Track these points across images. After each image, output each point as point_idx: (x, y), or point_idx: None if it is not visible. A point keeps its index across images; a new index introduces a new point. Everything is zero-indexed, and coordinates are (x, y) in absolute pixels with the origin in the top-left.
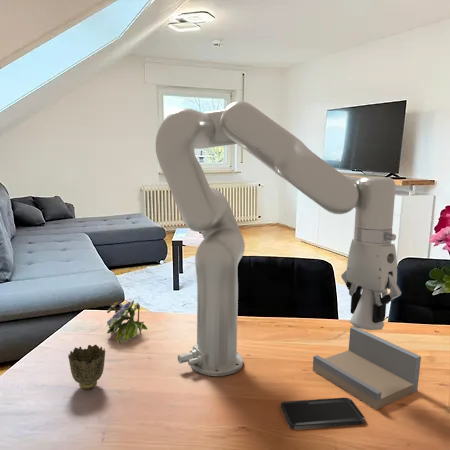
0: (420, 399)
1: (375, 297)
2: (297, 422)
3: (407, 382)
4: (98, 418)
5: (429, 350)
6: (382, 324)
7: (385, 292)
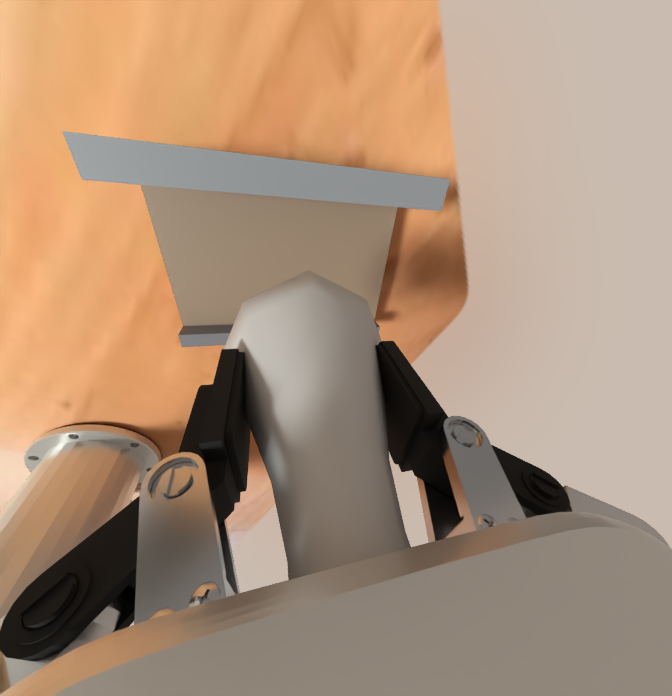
0: (410, 211)
1: (426, 516)
2: None
3: (384, 208)
4: None
5: None
6: (374, 327)
7: (503, 515)
